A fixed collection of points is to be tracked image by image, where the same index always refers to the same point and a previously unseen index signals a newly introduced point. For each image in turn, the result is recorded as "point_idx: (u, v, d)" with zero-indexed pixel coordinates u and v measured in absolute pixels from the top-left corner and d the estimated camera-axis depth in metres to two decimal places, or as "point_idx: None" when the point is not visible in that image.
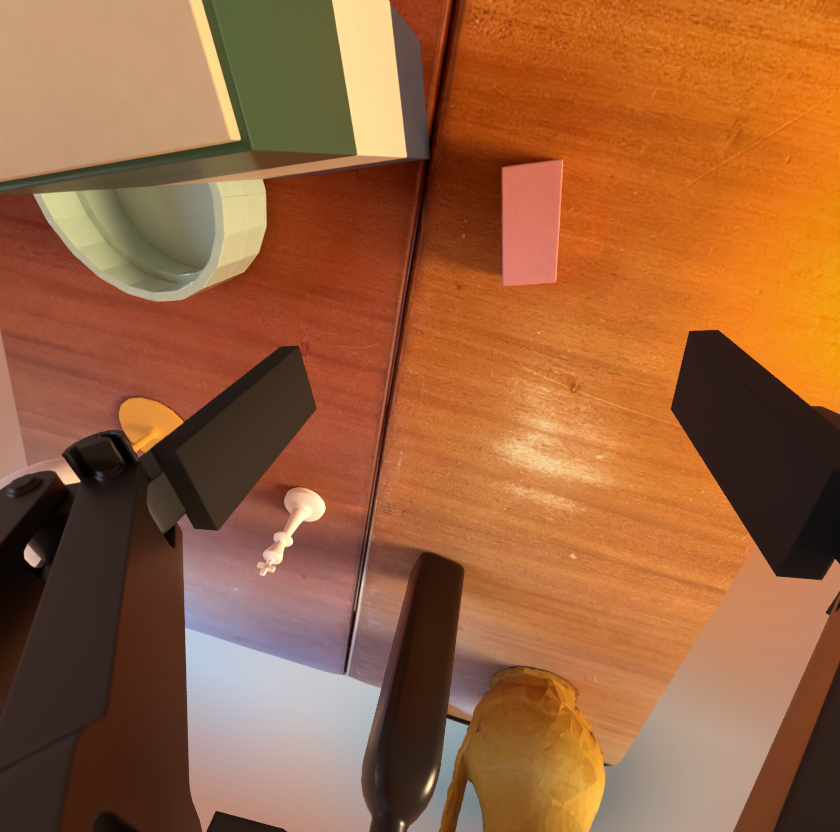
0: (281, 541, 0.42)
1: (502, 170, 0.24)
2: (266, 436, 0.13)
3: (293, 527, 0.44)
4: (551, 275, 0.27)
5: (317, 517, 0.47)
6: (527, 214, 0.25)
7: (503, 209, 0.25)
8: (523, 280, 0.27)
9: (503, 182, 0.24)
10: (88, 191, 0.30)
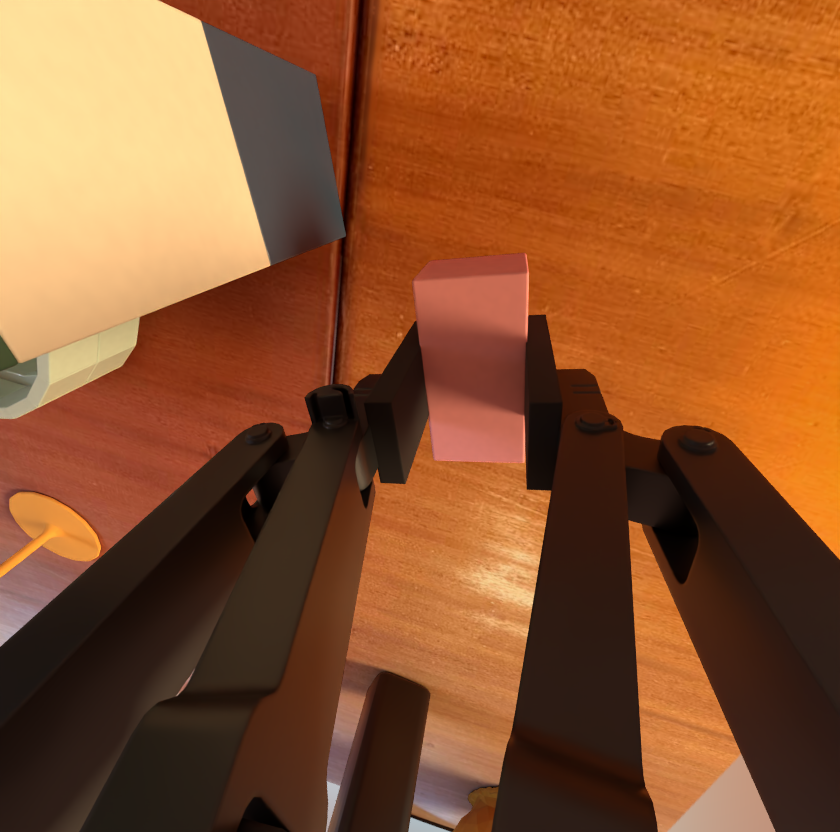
0: None
1: (414, 285, 0.12)
2: (422, 402, 0.14)
3: None
4: (516, 453, 0.15)
5: None
6: (466, 359, 0.13)
7: (422, 349, 0.13)
8: (467, 456, 0.15)
9: (417, 305, 0.13)
10: None
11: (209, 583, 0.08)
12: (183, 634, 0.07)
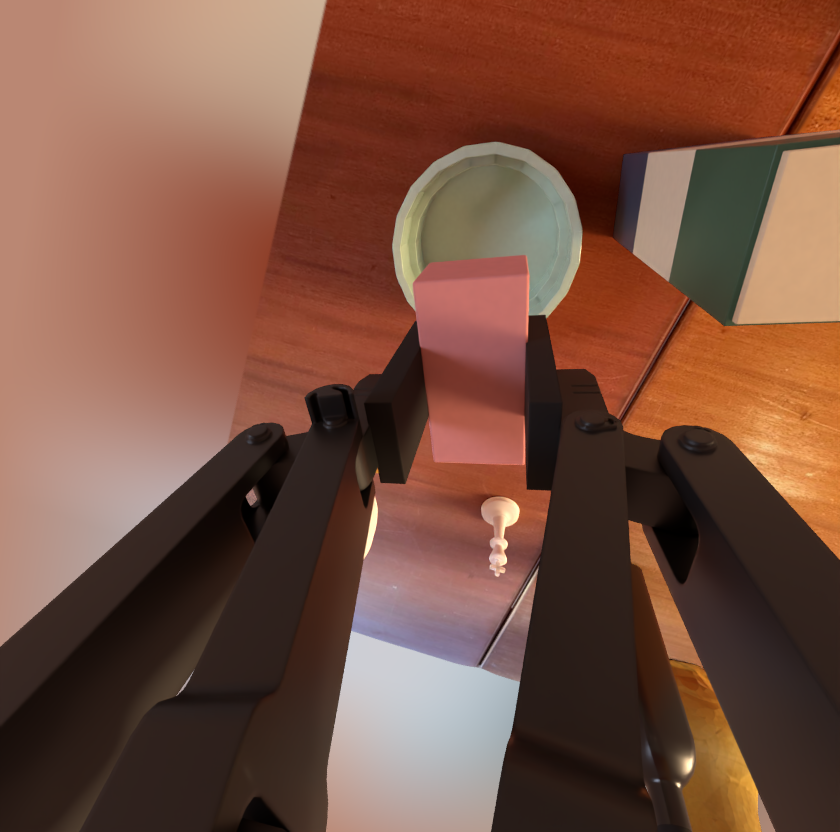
0: (500, 545, 0.47)
1: (414, 287, 0.12)
2: (422, 402, 0.14)
3: (503, 533, 0.49)
4: (516, 455, 0.15)
5: (511, 523, 0.53)
6: (466, 361, 0.13)
7: (423, 351, 0.13)
8: (468, 458, 0.15)
9: (418, 308, 0.13)
10: (417, 247, 0.35)
11: (209, 583, 0.08)
12: (183, 634, 0.07)
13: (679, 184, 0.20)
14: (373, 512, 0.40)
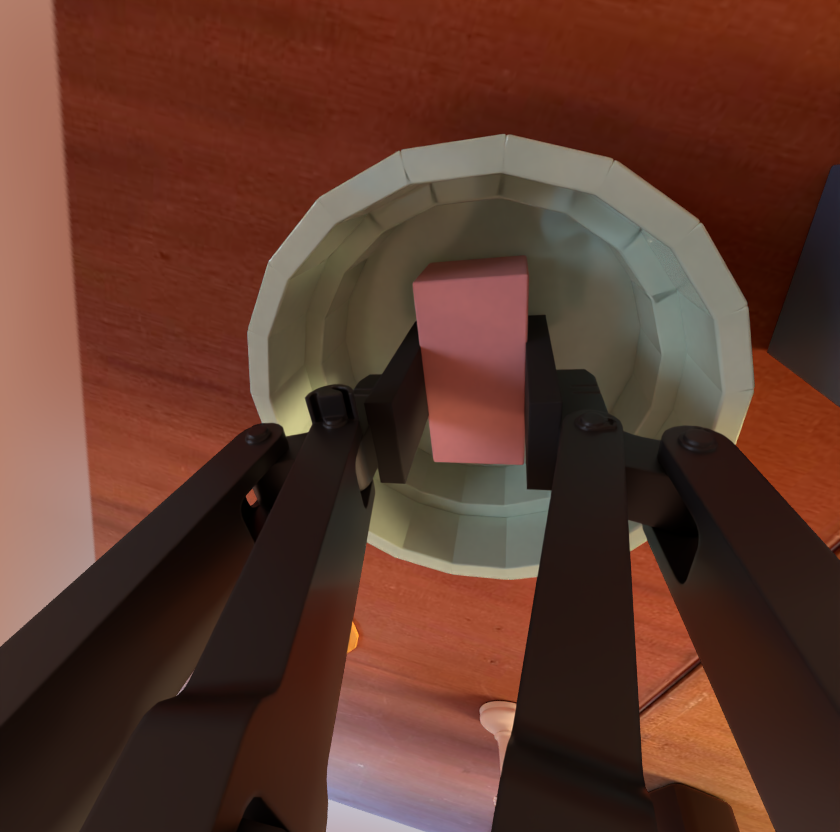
0: None
1: (414, 287, 0.12)
2: (422, 402, 0.14)
3: None
4: (516, 454, 0.15)
5: None
6: (466, 361, 0.13)
7: (422, 351, 0.14)
8: (467, 458, 0.15)
9: (418, 308, 0.13)
10: (328, 372, 0.16)
11: (209, 583, 0.08)
12: (182, 633, 0.07)
13: None
14: None
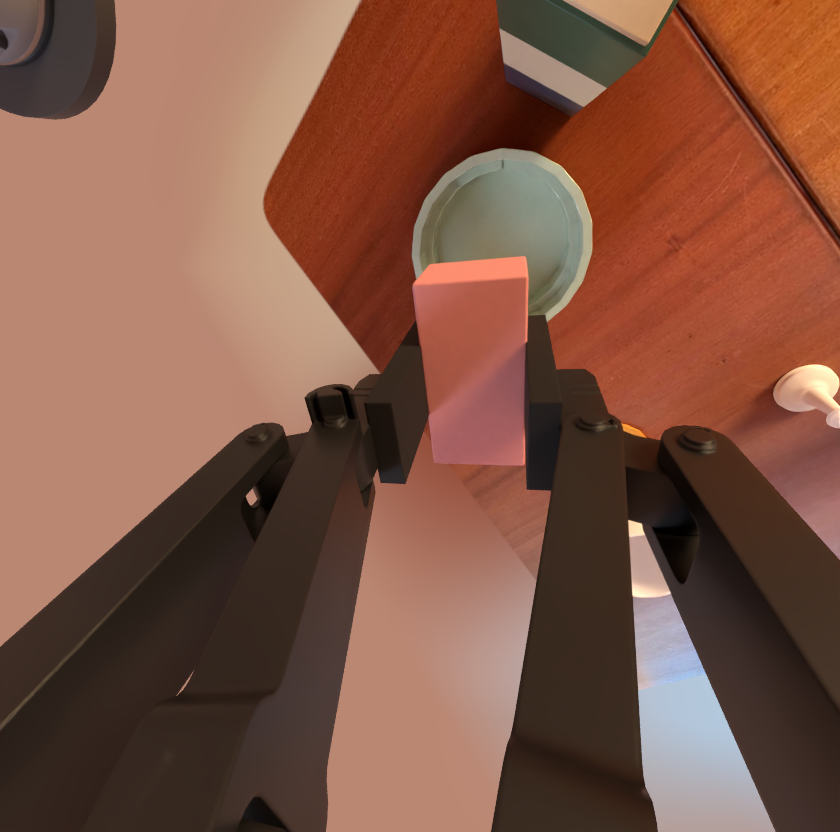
0: None
1: (414, 289, 0.12)
2: (422, 402, 0.14)
3: (834, 403, 0.36)
4: (516, 455, 0.15)
5: (836, 385, 0.38)
6: (466, 362, 0.13)
7: (422, 352, 0.14)
8: (468, 458, 0.15)
9: (418, 309, 0.13)
10: None
11: (209, 583, 0.08)
12: (183, 633, 0.07)
13: (525, 49, 0.20)
14: None
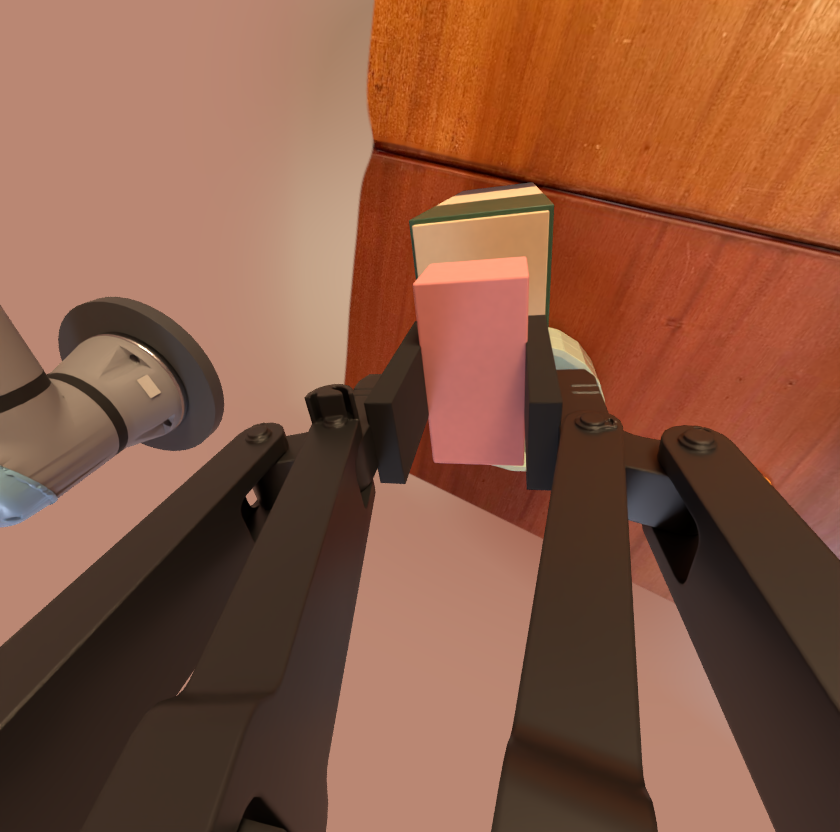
0: None
1: (414, 289, 0.12)
2: (422, 402, 0.14)
3: None
4: (516, 455, 0.15)
5: None
6: (466, 363, 0.13)
7: (422, 352, 0.14)
8: (467, 458, 0.15)
9: (418, 309, 0.13)
10: None
11: (209, 583, 0.08)
12: (183, 634, 0.07)
13: None
14: None
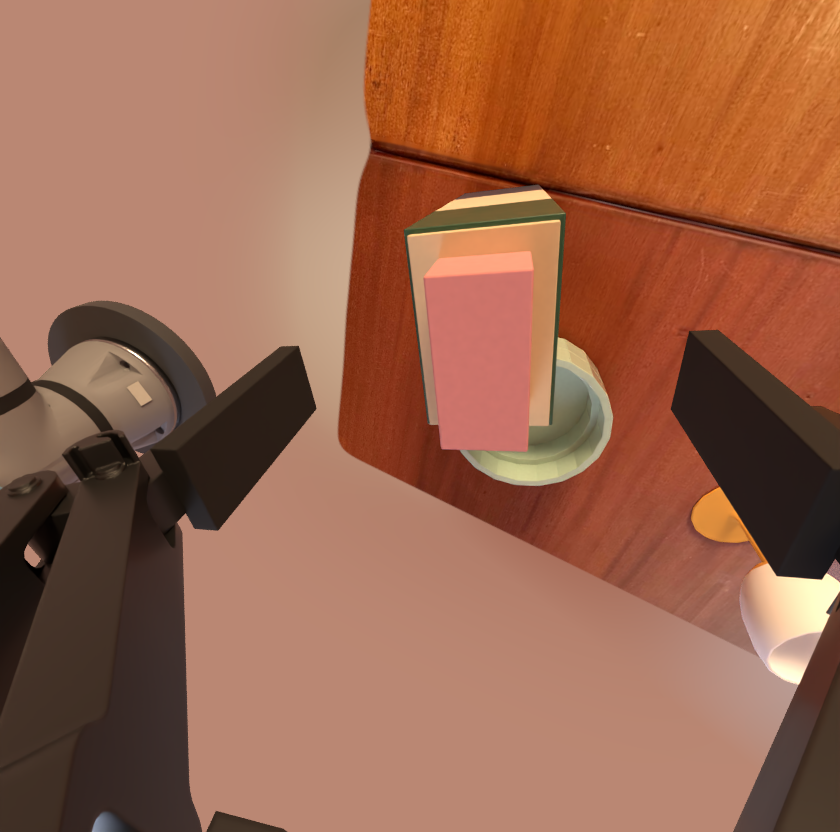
0: None
1: (425, 281, 0.13)
2: (266, 436, 0.13)
3: None
4: (520, 441, 0.16)
5: None
6: (473, 352, 0.14)
7: (432, 342, 0.14)
8: (473, 445, 0.16)
9: (428, 300, 0.13)
10: (522, 456, 0.43)
11: (4, 641, 0.07)
12: None
13: None
14: (808, 585, 0.33)
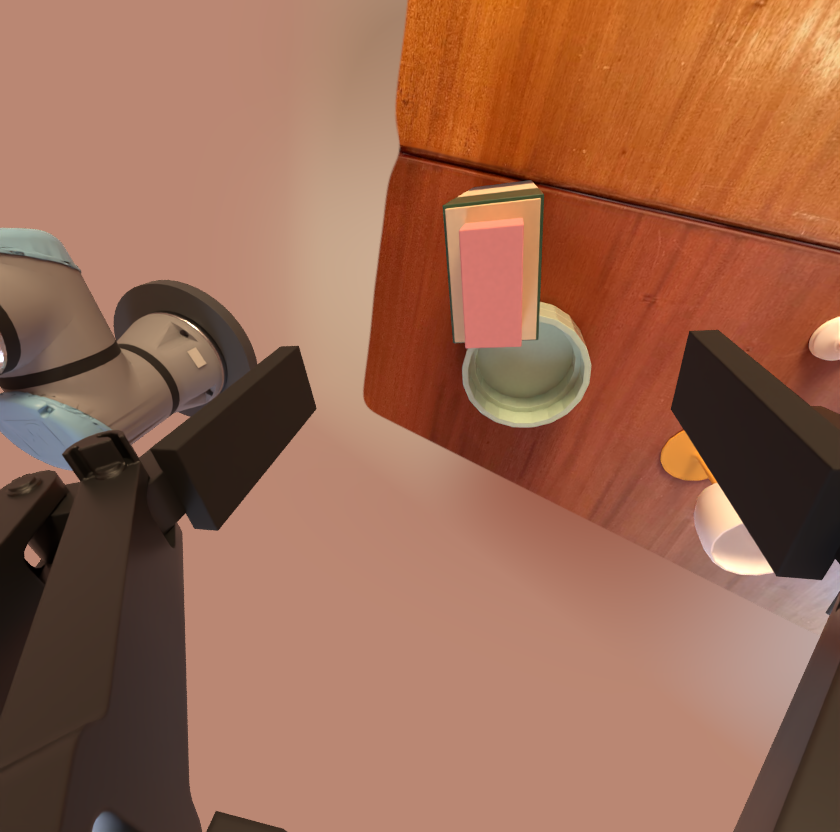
0: None
1: (459, 233, 0.22)
2: (266, 436, 0.13)
3: None
4: (516, 339, 0.25)
5: None
6: (487, 278, 0.23)
7: (462, 272, 0.23)
8: (487, 343, 0.25)
9: (461, 245, 0.23)
10: (519, 405, 0.52)
11: (4, 641, 0.07)
12: None
13: None
14: None
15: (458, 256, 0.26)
